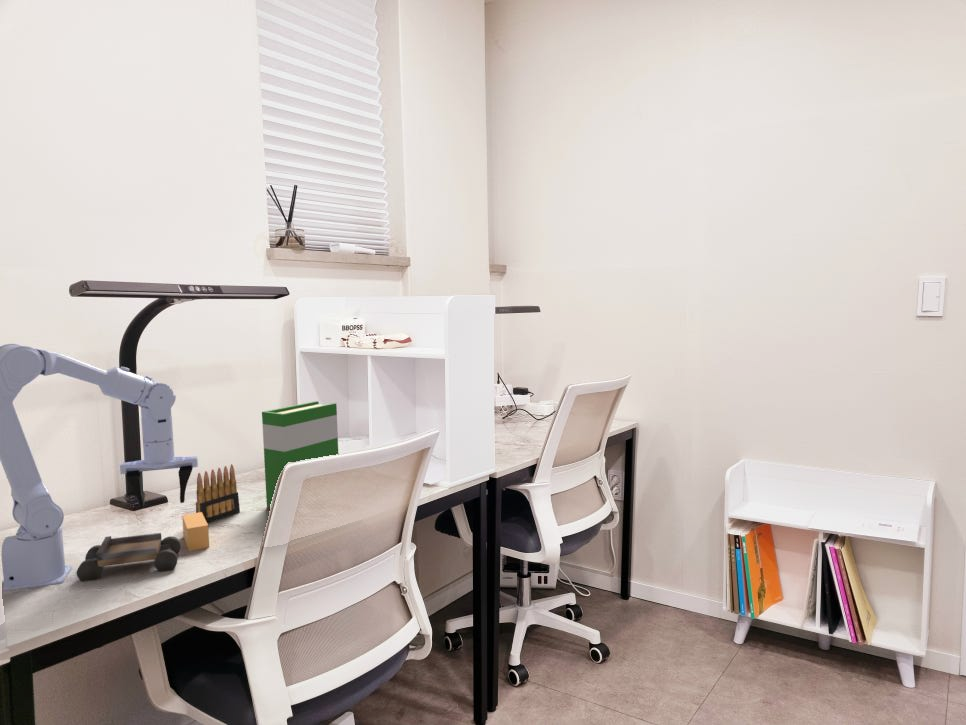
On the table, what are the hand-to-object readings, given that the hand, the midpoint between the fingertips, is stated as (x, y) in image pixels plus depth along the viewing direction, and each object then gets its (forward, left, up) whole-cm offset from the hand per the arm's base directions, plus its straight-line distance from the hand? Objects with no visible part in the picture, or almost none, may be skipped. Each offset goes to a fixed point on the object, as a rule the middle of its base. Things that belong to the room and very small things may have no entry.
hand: (162, 503), depth 146 cm
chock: (+6, +1, -10) cm, 11 cm away
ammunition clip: (+10, +16, -10) cm, 21 cm away
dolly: (-5, -10, -9) cm, 15 cm away
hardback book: (+30, +22, -10) cm, 39 cm away
